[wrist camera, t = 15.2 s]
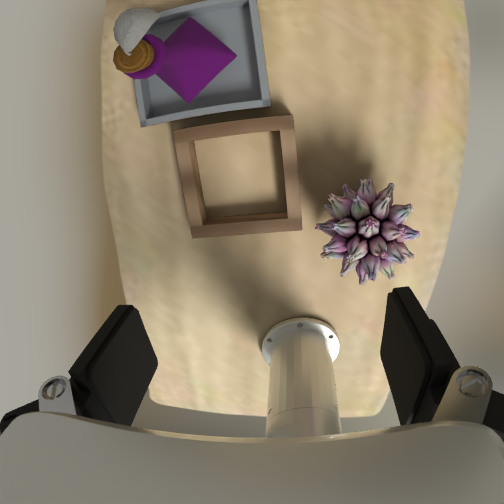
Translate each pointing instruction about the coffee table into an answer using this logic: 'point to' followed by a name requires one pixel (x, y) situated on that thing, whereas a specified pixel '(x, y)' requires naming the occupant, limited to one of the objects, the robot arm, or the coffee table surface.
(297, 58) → the coffee table surface
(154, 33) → the tray
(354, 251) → the flower
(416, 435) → the robot arm
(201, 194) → the square wooden frame
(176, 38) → the perfume bottle
